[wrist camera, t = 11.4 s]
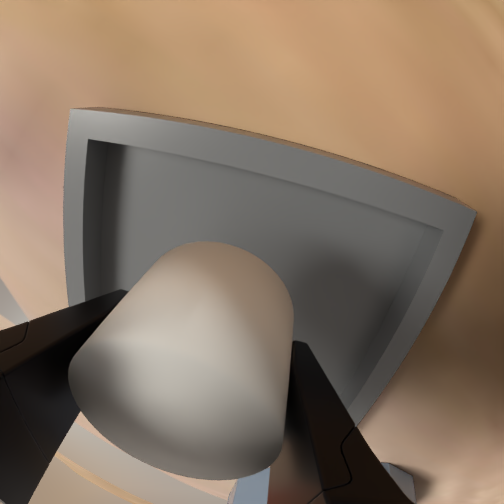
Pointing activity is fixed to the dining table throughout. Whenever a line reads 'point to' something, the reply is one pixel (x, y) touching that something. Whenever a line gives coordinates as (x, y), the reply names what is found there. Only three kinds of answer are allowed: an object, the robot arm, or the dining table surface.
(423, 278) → the parts tray
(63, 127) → the dining table surface
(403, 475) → the glazed bowl
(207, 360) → the pebble grey
